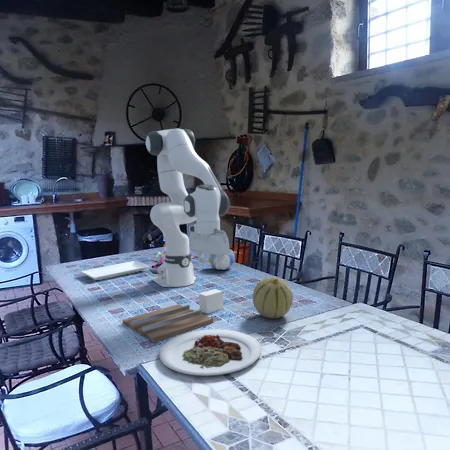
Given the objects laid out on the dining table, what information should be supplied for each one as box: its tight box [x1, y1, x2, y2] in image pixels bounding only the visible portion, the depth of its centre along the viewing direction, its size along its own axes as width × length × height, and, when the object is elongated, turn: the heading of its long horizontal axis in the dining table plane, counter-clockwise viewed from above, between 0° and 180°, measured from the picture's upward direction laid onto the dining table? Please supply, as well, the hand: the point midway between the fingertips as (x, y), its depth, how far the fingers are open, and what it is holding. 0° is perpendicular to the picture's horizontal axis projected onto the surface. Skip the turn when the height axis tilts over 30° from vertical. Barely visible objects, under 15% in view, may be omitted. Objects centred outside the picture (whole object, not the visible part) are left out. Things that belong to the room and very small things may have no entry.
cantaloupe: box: [252, 276, 294, 319], centre depth 152 cm, size 15×15×15 cm
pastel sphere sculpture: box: [151, 243, 194, 264], centre depth 251 cm, size 25×24×9 cm
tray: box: [80, 260, 150, 281], centre depth 222 cm, size 17×32×4 cm, turn 130°
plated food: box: [158, 328, 262, 376], centre depth 125 cm, size 30×30×3 cm
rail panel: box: [121, 303, 214, 343], centre depth 150 cm, size 22×24×3 cm
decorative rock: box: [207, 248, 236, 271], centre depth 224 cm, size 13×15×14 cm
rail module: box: [198, 288, 224, 315], centre depth 163 cm, size 4×9×7 cm, turn 130°
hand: (209, 264), depth 160 cm, fingers open, 8 cm apart
